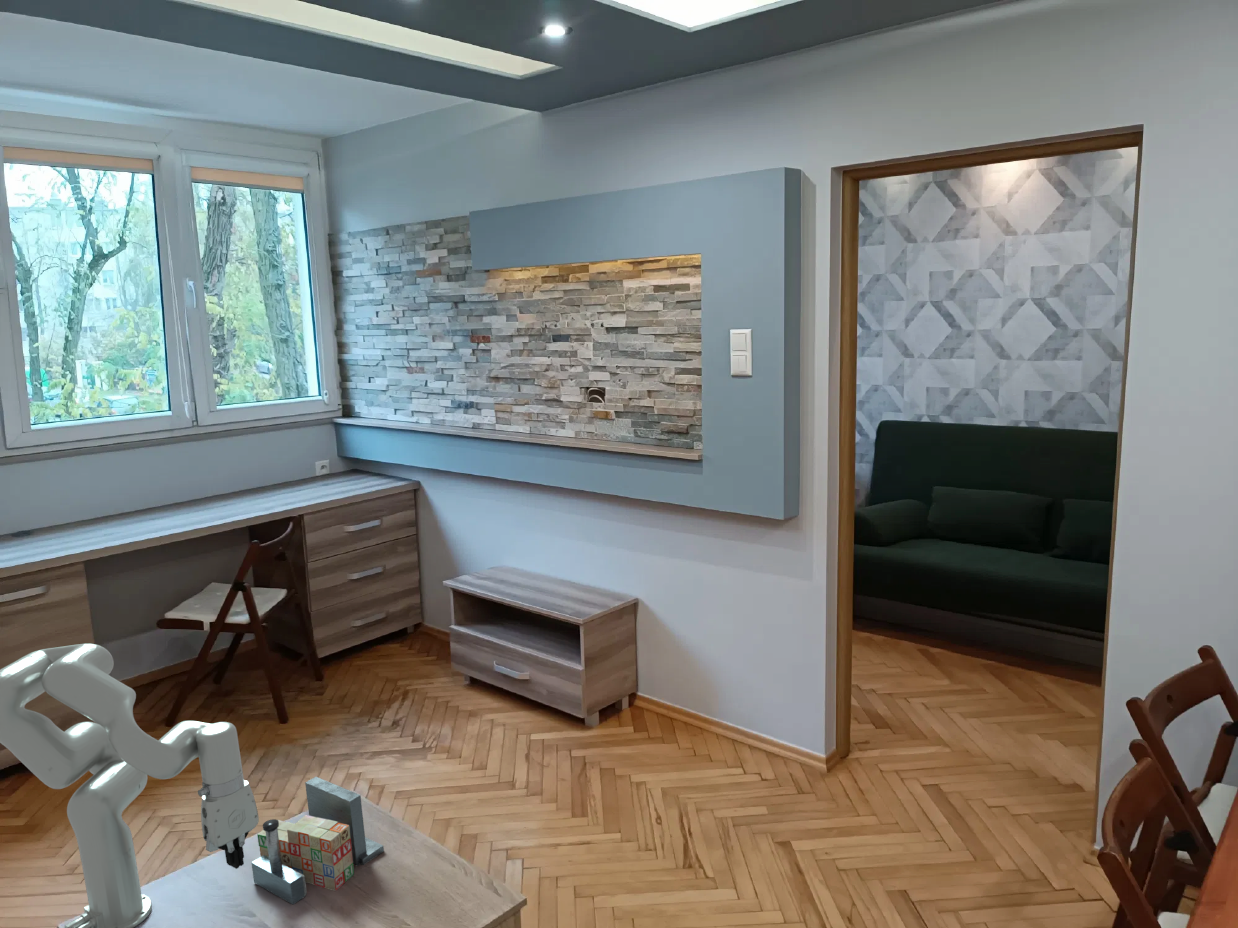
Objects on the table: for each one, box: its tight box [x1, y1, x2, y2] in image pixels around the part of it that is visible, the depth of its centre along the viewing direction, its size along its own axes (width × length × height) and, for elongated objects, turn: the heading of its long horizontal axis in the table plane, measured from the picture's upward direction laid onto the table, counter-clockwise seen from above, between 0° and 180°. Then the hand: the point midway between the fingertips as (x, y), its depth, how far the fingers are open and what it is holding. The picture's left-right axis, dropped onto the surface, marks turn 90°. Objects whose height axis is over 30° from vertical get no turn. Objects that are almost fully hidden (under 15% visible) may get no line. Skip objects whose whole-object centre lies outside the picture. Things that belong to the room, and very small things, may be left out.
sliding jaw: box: [251, 818, 308, 905], centre depth 192 cm, size 4×14×16 cm, turn 55°
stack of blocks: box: [257, 814, 355, 891], centre depth 198 cm, size 21×6×12 cm, turn 67°
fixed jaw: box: [304, 776, 385, 867], centre depth 206 cm, size 8×18×16 cm, turn 55°
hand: (236, 864), depth 184 cm, fingers closed
